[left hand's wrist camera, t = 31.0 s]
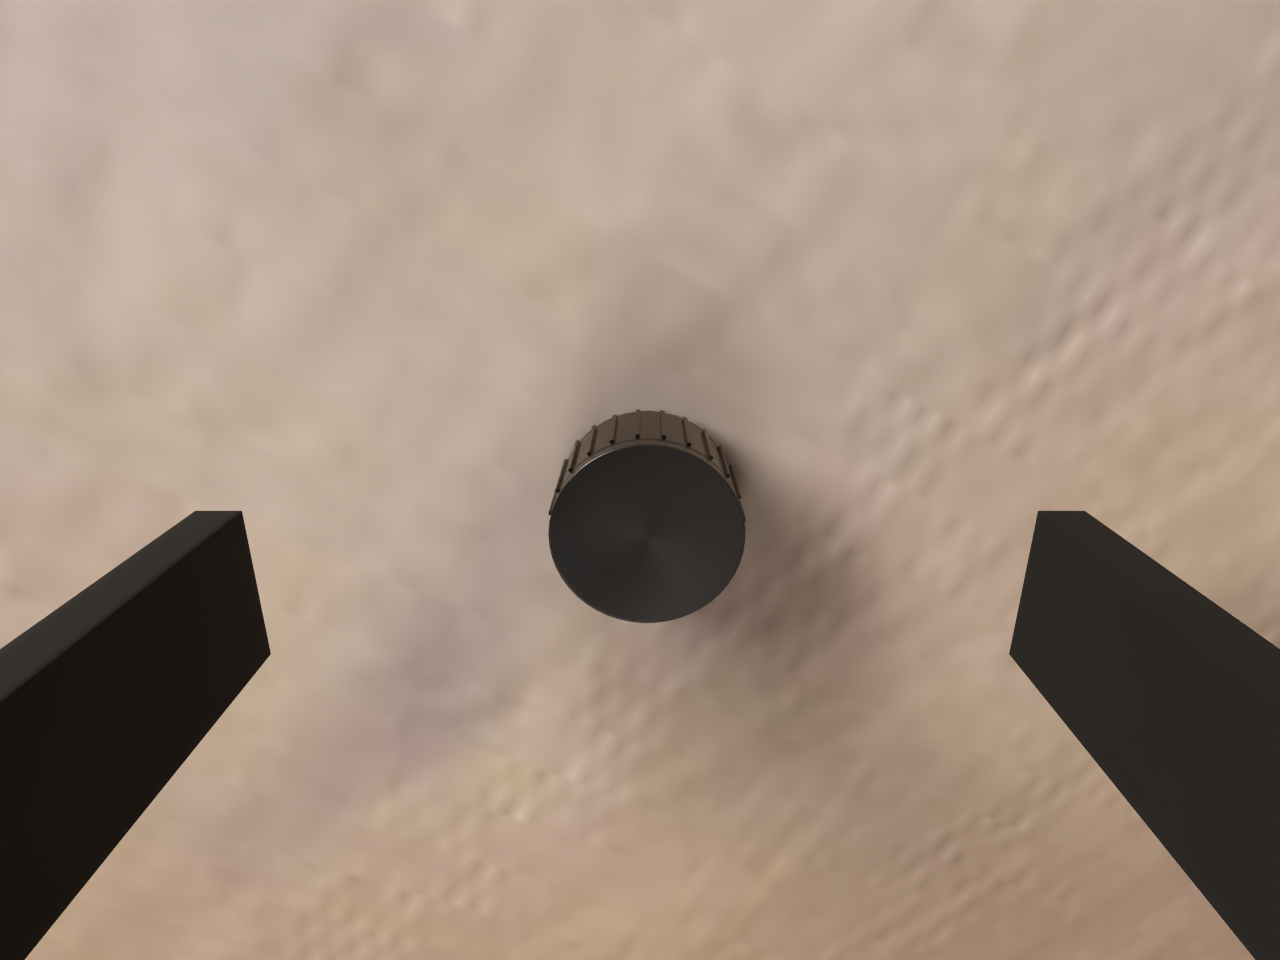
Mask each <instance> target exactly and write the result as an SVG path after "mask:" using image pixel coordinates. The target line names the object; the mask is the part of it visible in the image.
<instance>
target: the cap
mask: <svg viewBox="0 0 1280 960" xmlns="http://www.w3.org/2000/svg"><path fill="white" fill-rule="evenodd" d="M740 499H741V494H740V491H739V488H738V485H737V482H736V479H735V476H734V472H733V469H732V466H731V465H729V466H728V464H727V462H726V459H725V455H724V452H723V449H722V447H721V445H719V446H717V444H716V443H715V442H714V441H713V440H712V438H711V437H709V436H708V433H707V431H706V430H705V429H703V430H701V429H700V428H699V427H697V426H696V425H694V424H693V423H691V422H689V421H688V420H687V418H685V417H683V418H680V417H677V416H675V415H671V414H667V413H664V411H662V410H660V412H653V411H640V410H636V412H632V413H626V414H623V415H619V416H617V415H613V418H611V419H609V420H607V421H605V422H603V423H601V424H600V425H598V426H596V425H594V426H592V429H591V431H590V432H588V433H587V434H586V435H585V436H584V437H583V438H582V439H581V440H580V441H578V440H577V441H576V442H575V445H574V449H573V451H572V453H571V454H570V456H569V458H568V460H567V459H565V460H564V463H563V466H562V469H561V473H560V476H559V479H558V483H557V486H556V489H555V493H554V497H553V500H552V503H551V507H550V510H549V515H551V517H550V522H549V545H550V550H551V554H552V558H553V561H554V563H555V566H556V568H557V570H558V572H559V574H560V576H561V577H562V579H563V580H564V582H565V583H566V584H567V586H568V587H569V588H570V589H571V590H572V591H573V592H574V594H575V595H576V596H577V597H579V598H580V599H581V600H582V601H584V602H585V603H586V604H587V605H589V606H591V607H592V608H594V609H595V610H597V611H599V612H601V613H604V614H606V615H608V616H611V617H614V618H617V619H620V620H625V621H630V622H639V623H656V622H663V621H669V620H673V619H677V618H680V617H683V616H686V615H688V614H691V613H693V612H695V611H697V610H698V609H700V608H702V607H703V606H705V605H706V604H708V603H709V602H711V601H712V600H713V599H714V598H715V597H716V596H717V595H719V594H720V593H721V592H722V590H723V589H724V588H725V587H726V586H727V585H728V583H729V582H730V580H731V579H732V577H733V576H734V574H735V572H736V570H737V568H738V566H739V564H740V561H741V557H742V554H743V550H744V544H745V523H744V522H746V518H745V515H744V511H743V508H742V505H741V502H740Z"/></svg>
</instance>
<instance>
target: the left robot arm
mask: <svg viewBox="0 0 1280 960" xmlns="http://www.w3.org/2000/svg"><path fill="white" fill-rule="evenodd" d="M270 654H271V653H270V648H269V643H268V638H267V633H266V628H265V623H264V618H263V614H262V609H261V604H260V599H259V594H258V589H257V584H256V579H255V574H254V569H253V564H252V559H251V554H250V549H249V544H248V539H247V534H246V529H245V524H244V520H243V515H242V511H195V512H193V513H192V514H190V515H189V516H188V517H186V518H185V519H183V520H182V521H181V522H179V523H178V524H176V525H175V526H173V527H172V528H171V529H169V530H168V531H166V532H165V533H164V534H162V535H161V536H159V537H158V538H157V539H155V540H154V541H152V542H151V543H149V544H148V545H147V546H145V547H144V548H142V549H141V550H140V551H138V552H137V553H135V554H134V555H133V556H131V557H130V558H128V559H127V560H126V561H124V562H123V563H121V564H120V565H118V566H117V567H116V568H114V569H113V570H111V571H110V572H109V573H107V574H106V575H104V576H103V577H102V578H100V579H99V580H97V581H96V582H94V583H93V584H92V585H90V586H89V587H87V588H86V589H85V590H83V591H82V592H80V593H79V594H78V595H76V596H75V597H73V598H72V599H71V600H69V601H68V602H66V603H65V604H63V605H62V606H61V607H59V608H58V609H56V610H55V611H54V612H52V613H51V614H49V615H48V616H47V617H45V618H44V619H42V620H41V621H40V622H38V623H37V624H35V625H34V626H32V627H31V628H30V629H28V630H27V631H25V632H24V633H23V634H21V635H20V636H18V637H17V638H16V639H14V640H13V641H11V642H10V643H8V644H7V645H6V646H4V647H3V648H1V649H0V960H25V958H26V957H27V956H28V955H29V953H30V952H31V951H32V950H33V948H34V947H35V946H36V945H37V944H38V942H39V941H40V940H41V939H42V937H43V936H44V935H45V934H46V932H47V931H48V930H49V929H50V927H51V926H52V925H53V924H54V922H55V921H56V920H57V919H58V917H59V916H60V915H61V914H62V912H63V911H64V910H65V909H66V908H67V906H68V905H69V904H70V903H71V901H72V900H73V899H74V898H75V896H76V895H77V894H78V893H79V891H80V890H81V889H82V888H83V886H84V885H85V884H86V883H87V881H88V880H89V879H90V878H91V876H92V875H93V874H94V873H95V872H96V870H97V869H98V868H99V867H100V865H101V864H102V863H103V862H104V860H105V859H106V858H107V857H108V855H109V854H110V853H111V852H112V850H113V849H114V848H115V847H116V845H117V844H118V843H119V842H120V840H121V839H122V838H123V837H124V836H125V834H126V833H127V832H128V831H129V829H130V828H131V827H132V826H133V824H134V823H135V822H136V821H137V819H138V818H139V817H140V816H141V814H142V813H143V812H144V811H145V809H146V808H147V807H148V806H149V804H150V803H151V802H152V801H153V800H154V798H155V797H156V796H157V795H158V793H159V792H160V791H161V790H162V788H163V787H164V786H165V785H166V783H167V782H168V781H169V780H170V778H171V777H172V776H173V775H174V773H175V772H176V771H177V770H178V768H179V767H180V766H181V765H182V764H183V762H184V761H185V760H186V759H187V757H188V756H189V755H190V754H191V752H192V751H193V750H194V749H195V747H196V746H197V745H198V744H199V742H200V741H201V740H202V739H203V737H204V736H205V735H206V734H207V732H208V731H209V730H210V729H211V728H212V726H213V725H214V724H215V723H216V721H217V720H218V719H219V718H220V716H221V715H222V714H223V713H224V711H225V710H226V709H227V708H228V706H229V705H230V704H231V703H232V701H233V700H234V699H235V698H236V696H237V695H238V694H239V693H240V692H241V690H242V689H243V688H244V687H245V685H246V684H247V683H248V682H249V680H250V679H251V678H252V677H253V675H254V674H255V673H256V672H257V670H258V669H259V668H260V667H261V665H262V664H263V663H264V662H265V660H266V659H267V658H268V657H269V656H270ZM1009 654H1010V656H1011V657H1012V658H1013V659H1014V660H1015V662H1016V663H1017V664H1018V665H1019V667H1020V668H1021V669H1022V670H1023V672H1024V673H1025V674H1026V675H1027V677H1028V678H1029V679H1030V680H1031V682H1032V683H1033V684H1034V685H1035V687H1036V688H1037V689H1038V690H1039V692H1040V693H1041V694H1042V695H1043V696H1044V698H1045V699H1046V700H1047V701H1048V703H1049V704H1050V705H1051V706H1052V708H1053V709H1054V710H1055V711H1056V713H1057V714H1058V715H1059V716H1060V718H1061V719H1062V720H1063V721H1064V723H1065V724H1066V725H1067V726H1068V728H1069V729H1070V730H1071V731H1072V732H1073V734H1074V735H1075V736H1076V737H1077V739H1078V740H1079V741H1080V742H1081V744H1082V745H1083V746H1084V747H1085V749H1086V750H1087V751H1088V752H1089V754H1090V755H1091V756H1092V757H1093V759H1094V760H1095V761H1096V762H1097V764H1098V765H1099V766H1100V767H1101V768H1102V770H1103V771H1104V772H1105V773H1106V775H1107V776H1108V777H1109V778H1110V780H1111V781H1112V782H1113V783H1114V785H1115V786H1116V787H1117V788H1118V790H1119V791H1120V792H1121V793H1122V795H1123V796H1124V797H1125V798H1126V800H1127V801H1128V802H1129V803H1130V804H1131V806H1132V807H1133V808H1134V809H1135V811H1136V812H1137V813H1138V814H1139V816H1140V817H1141V818H1142V819H1143V821H1144V822H1145V823H1146V824H1147V826H1148V827H1149V828H1150V829H1151V831H1152V832H1153V833H1154V834H1155V836H1156V837H1157V838H1158V839H1159V840H1160V842H1161V843H1162V844H1163V845H1164V847H1165V848H1166V849H1167V850H1168V852H1169V853H1170V854H1171V855H1172V857H1173V858H1174V859H1175V860H1176V862H1177V863H1178V864H1179V865H1180V867H1181V868H1182V869H1183V870H1184V872H1185V873H1186V874H1187V875H1188V876H1189V878H1190V879H1191V880H1192V881H1193V883H1194V884H1195V885H1196V886H1197V888H1198V889H1199V890H1200V891H1201V893H1202V894H1203V895H1204V896H1205V898H1206V899H1207V900H1208V901H1209V903H1210V904H1211V905H1212V906H1213V908H1214V909H1215V910H1216V911H1217V912H1218V914H1219V915H1220V916H1221V917H1222V919H1223V920H1224V921H1225V922H1226V924H1227V925H1228V926H1229V927H1230V929H1231V930H1232V931H1233V932H1234V934H1235V935H1236V936H1237V937H1238V939H1239V940H1240V941H1241V942H1242V944H1243V945H1244V946H1245V947H1246V948H1247V950H1248V951H1249V952H1250V953H1251V955H1252V956H1253V957H1254V958H1255V960H1280V649H1279V648H1277V647H1276V646H1274V645H1273V644H1272V643H1270V642H1269V641H1267V640H1266V639H1264V638H1263V637H1262V636H1260V635H1259V634H1257V633H1256V632H1255V631H1253V630H1252V629H1250V628H1249V627H1248V626H1246V625H1245V624H1243V623H1242V622H1240V621H1239V620H1238V619H1236V618H1235V617H1233V616H1232V615H1231V614H1229V613H1228V612H1226V611H1225V610H1224V609H1222V608H1221V607H1219V606H1218V605H1217V604H1215V603H1214V602H1212V601H1211V600H1209V599H1208V598H1207V597H1205V596H1204V595H1202V594H1201V593H1200V592H1198V591H1197V590H1195V589H1194V588H1193V587H1191V586H1190V585H1188V584H1187V583H1186V582H1184V581H1183V580H1181V579H1180V578H1178V577H1177V576H1176V575H1174V574H1173V573H1171V572H1170V571H1169V570H1167V569H1166V568H1164V567H1163V566H1162V565H1160V564H1159V563H1157V562H1156V561H1154V560H1153V559H1152V558H1150V557H1149V556H1147V555H1146V554H1145V553H1143V552H1142V551H1140V550H1139V549H1138V548H1136V547H1135V546H1133V545H1132V544H1131V543H1129V542H1128V541H1126V540H1125V539H1123V538H1122V537H1121V536H1119V535H1118V534H1116V533H1115V532H1114V531H1112V530H1111V529H1109V528H1108V527H1107V526H1105V525H1104V524H1102V523H1101V522H1099V521H1098V520H1097V519H1095V518H1094V517H1092V516H1091V515H1090V514H1088V513H1087V512H1085V511H1038V515H1037V520H1036V524H1035V529H1034V534H1033V539H1032V544H1031V549H1030V554H1029V559H1028V564H1027V569H1026V574H1025V579H1024V584H1023V589H1022V594H1021V599H1020V604H1019V609H1018V614H1017V618H1016V623H1015V628H1014V633H1013V638H1012V643H1011V648H1010V653H1009Z"/></svg>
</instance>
